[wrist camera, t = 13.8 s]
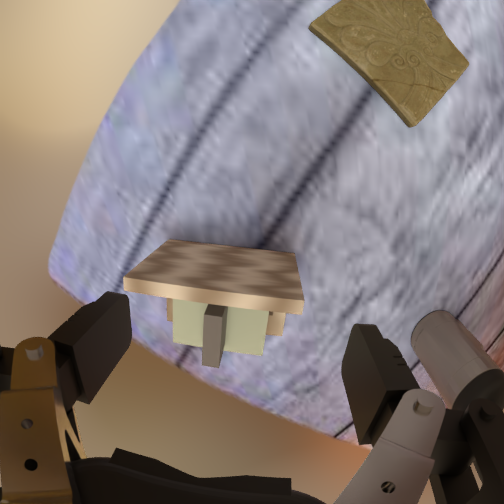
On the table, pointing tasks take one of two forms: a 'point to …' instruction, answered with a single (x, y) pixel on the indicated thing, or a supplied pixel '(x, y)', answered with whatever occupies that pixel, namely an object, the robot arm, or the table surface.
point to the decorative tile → (394, 51)
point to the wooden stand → (221, 278)
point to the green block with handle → (219, 329)
